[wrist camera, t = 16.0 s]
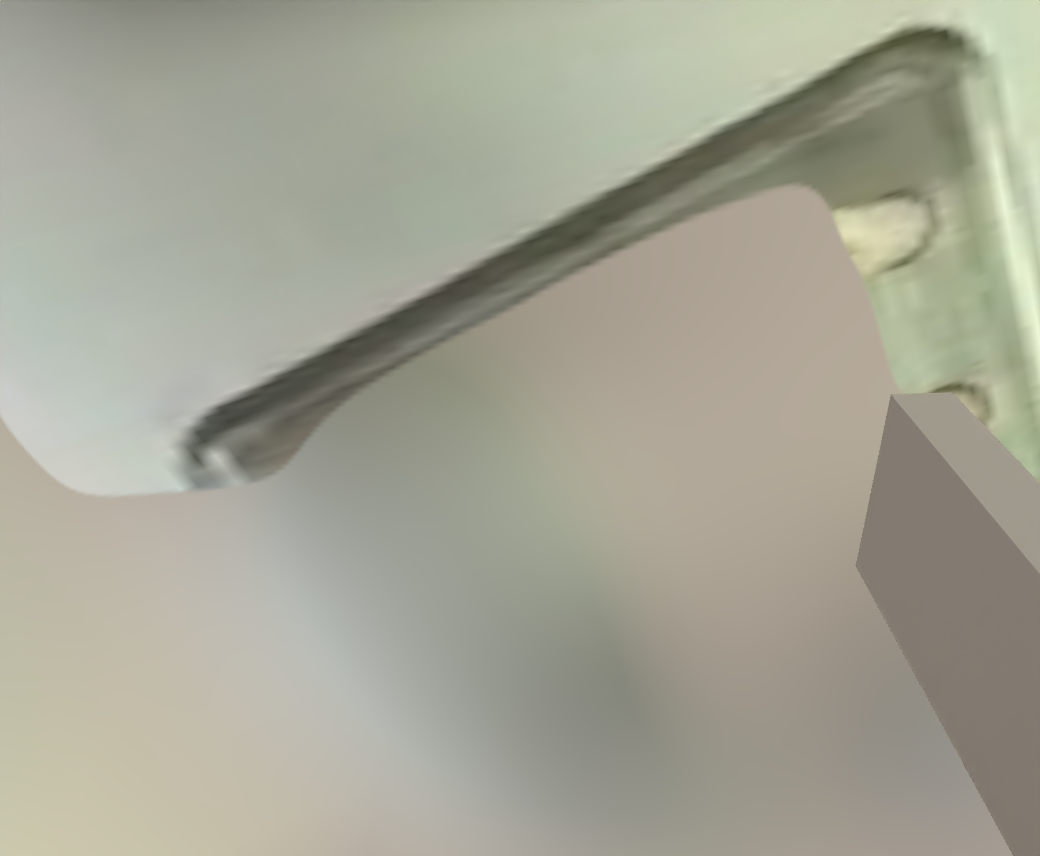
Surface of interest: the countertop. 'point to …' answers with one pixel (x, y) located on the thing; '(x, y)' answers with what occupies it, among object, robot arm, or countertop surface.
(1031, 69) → the countertop surface
